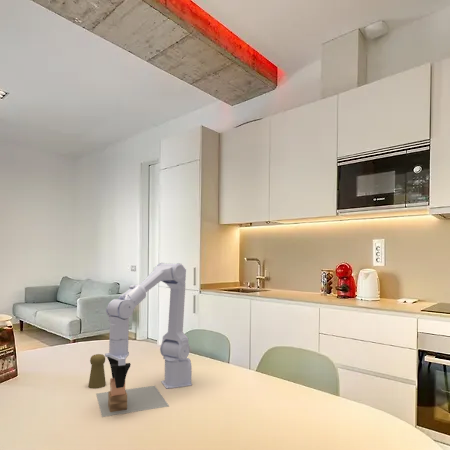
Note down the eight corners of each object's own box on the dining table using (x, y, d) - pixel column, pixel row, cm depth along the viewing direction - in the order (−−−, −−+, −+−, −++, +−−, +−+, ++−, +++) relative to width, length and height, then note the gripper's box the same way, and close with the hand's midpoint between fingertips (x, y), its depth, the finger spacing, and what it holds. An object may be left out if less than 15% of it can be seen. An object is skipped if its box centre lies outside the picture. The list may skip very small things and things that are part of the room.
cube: (123, 390, 120) (123, 376, 121) (125, 394, 117) (125, 380, 117) (110, 391, 119) (110, 378, 119) (111, 396, 115) (111, 382, 115)
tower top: (124, 396, 121) (124, 389, 121) (127, 402, 116) (127, 394, 117) (108, 398, 119) (108, 391, 119) (110, 404, 114) (110, 397, 115)
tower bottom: (124, 403, 121) (124, 396, 121) (127, 409, 116) (127, 402, 116) (108, 406, 119) (108, 398, 119) (110, 412, 114) (110, 404, 114)
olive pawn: (100, 389, 133) (101, 357, 134) (84, 388, 135) (85, 356, 135) (109, 383, 139) (109, 353, 140) (93, 382, 141) (94, 352, 141)
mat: (154, 386, 137) (154, 385, 137) (169, 406, 119) (169, 406, 119) (96, 394, 129) (96, 393, 129) (102, 417, 111) (102, 416, 111)
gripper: (103, 334, 124) (102, 377, 123) (108, 344, 111) (107, 393, 110) (125, 333, 127) (124, 375, 126) (133, 342, 114) (132, 389, 113)
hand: (118, 383), depth 118 cm, fingers open, 7 cm apart
